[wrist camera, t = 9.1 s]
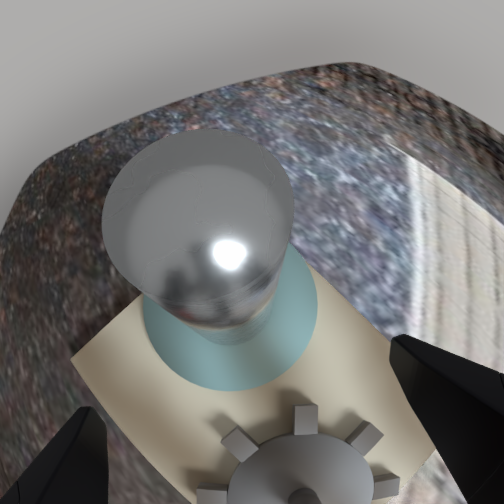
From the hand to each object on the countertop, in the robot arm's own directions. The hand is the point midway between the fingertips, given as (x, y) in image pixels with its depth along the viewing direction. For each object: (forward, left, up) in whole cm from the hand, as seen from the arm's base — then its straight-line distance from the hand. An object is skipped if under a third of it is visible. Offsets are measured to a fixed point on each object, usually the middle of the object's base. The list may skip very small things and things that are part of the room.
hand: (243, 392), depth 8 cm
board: (0, -2, -10) cm, 10 cm away
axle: (+2, +4, -9) cm, 10 cm away
